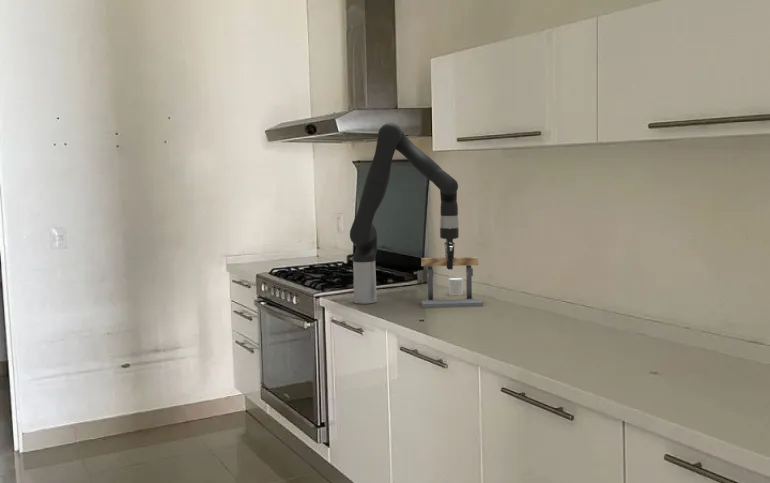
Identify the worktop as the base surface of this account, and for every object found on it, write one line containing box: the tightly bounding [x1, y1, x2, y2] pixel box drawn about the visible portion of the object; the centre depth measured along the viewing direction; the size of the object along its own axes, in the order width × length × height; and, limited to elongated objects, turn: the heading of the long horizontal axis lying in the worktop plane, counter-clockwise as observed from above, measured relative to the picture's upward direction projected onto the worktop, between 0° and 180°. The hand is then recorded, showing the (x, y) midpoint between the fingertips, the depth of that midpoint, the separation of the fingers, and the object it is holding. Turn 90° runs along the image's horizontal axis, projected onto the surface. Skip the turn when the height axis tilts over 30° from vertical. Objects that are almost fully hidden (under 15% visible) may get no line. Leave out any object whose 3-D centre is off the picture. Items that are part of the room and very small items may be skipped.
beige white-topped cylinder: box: [447, 277, 465, 297], centre depth 329 cm, size 7×7×7 cm
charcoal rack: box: [426, 265, 474, 300], centre depth 312 cm, size 19×6×17 cm, turn 90°
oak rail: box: [420, 256, 479, 267], centre depth 311 cm, size 23×3×3 cm, turn 91°
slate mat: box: [421, 298, 484, 309], centre depth 305 cm, size 24×8×2 cm, turn 90°
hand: (449, 268), depth 311 cm, fingers closed on oak rail, 3 cm apart
